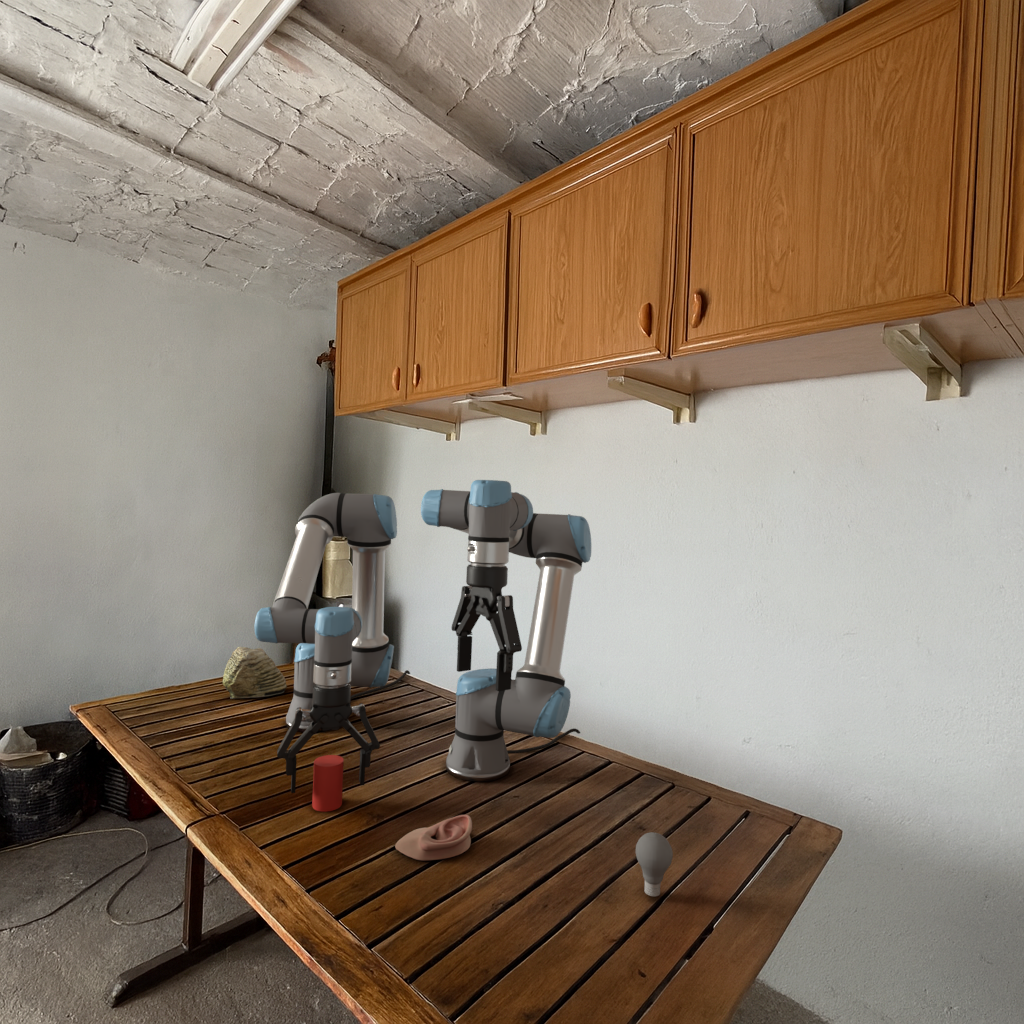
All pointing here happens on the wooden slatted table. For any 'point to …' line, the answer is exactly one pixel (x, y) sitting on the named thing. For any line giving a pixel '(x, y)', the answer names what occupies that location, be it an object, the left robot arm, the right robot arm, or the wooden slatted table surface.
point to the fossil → (252, 674)
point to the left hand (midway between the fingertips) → (328, 786)
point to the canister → (327, 783)
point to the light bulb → (653, 860)
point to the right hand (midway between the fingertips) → (482, 679)
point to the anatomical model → (438, 839)
